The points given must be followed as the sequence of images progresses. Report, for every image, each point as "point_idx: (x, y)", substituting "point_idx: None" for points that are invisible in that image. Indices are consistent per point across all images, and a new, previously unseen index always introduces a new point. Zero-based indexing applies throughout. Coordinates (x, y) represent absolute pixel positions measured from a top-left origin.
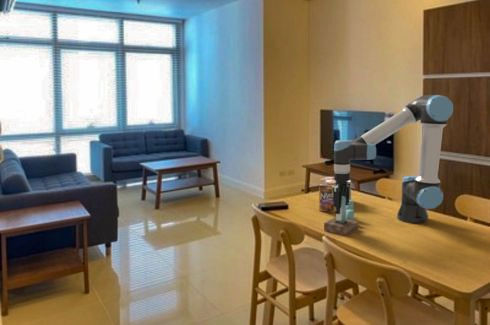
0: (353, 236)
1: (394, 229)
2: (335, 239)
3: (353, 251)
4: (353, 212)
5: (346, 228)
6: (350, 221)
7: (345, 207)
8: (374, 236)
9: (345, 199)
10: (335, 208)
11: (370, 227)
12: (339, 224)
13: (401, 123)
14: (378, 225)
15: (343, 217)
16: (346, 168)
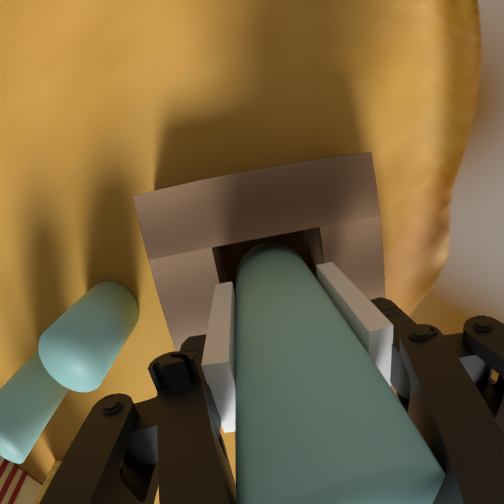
0: (316, 108)
1: (8, 54)
2: (441, 166)
3: (473, 13)
4: (62, 322)
5: (361, 153)
6: (192, 241)
7: (230, 348)
8: (199, 17)
9: (299, 435)
10: (53, 469)
11: (60, 159)
12: (342, 251)
13: None
14: (4, 159)
15: (298, 269)
16: None
